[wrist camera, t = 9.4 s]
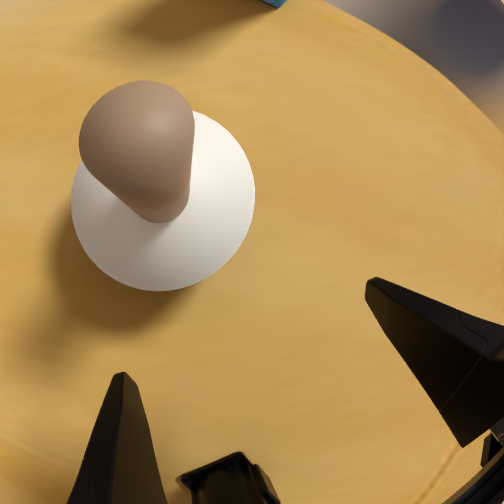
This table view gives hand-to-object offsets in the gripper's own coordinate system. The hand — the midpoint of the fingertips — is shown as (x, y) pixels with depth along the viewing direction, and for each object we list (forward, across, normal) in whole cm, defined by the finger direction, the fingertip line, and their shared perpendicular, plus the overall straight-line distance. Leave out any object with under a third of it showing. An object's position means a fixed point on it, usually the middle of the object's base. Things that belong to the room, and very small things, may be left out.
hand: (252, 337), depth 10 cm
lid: (+11, +2, -1) cm, 11 cm away
